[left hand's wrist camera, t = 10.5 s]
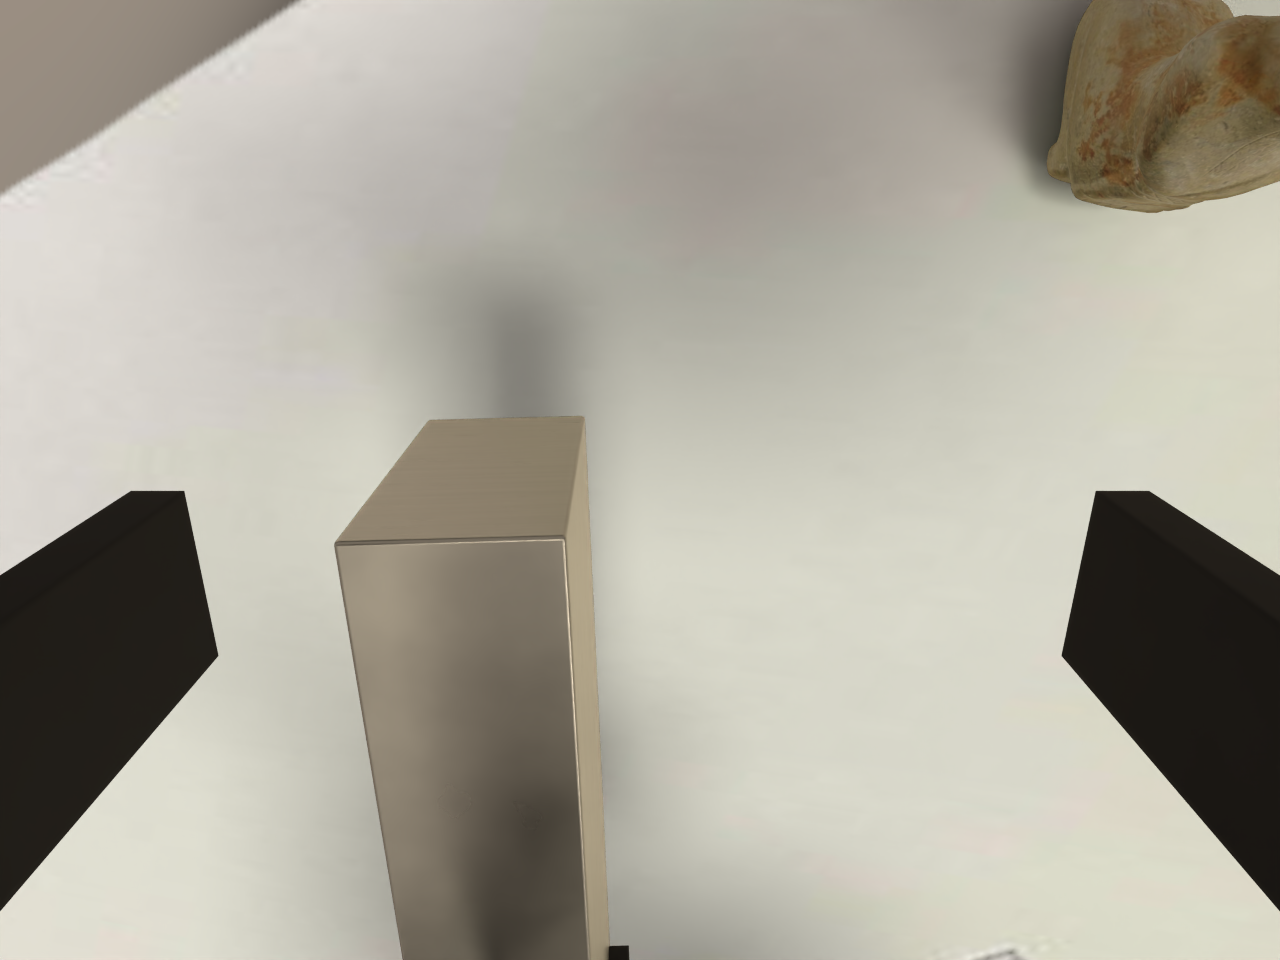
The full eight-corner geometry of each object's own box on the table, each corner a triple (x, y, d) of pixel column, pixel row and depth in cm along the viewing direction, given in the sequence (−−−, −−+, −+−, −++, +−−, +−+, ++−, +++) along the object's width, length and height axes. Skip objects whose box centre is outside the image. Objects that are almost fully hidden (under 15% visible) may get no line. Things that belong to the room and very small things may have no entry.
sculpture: (1221, 10, 30) (1753, -125, 16) (1140, 218, 32) (1538, 263, 18) (1067, -26, 29) (1475, -199, 15) (998, 188, 32) (1293, 209, 18)
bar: (427, 419, 24) (332, 543, 16) (584, 415, 24) (566, 536, 16) (499, 1039, 32) (460, 1315, 25) (614, 1035, 32) (611, 1309, 25)
